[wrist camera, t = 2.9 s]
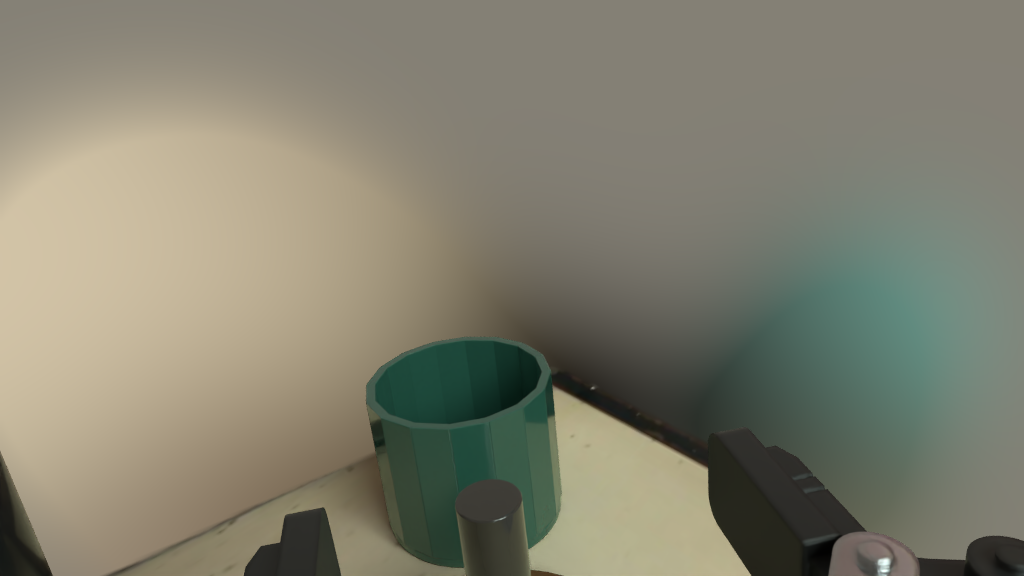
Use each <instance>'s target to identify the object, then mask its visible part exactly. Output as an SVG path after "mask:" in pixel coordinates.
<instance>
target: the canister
mask: <svg viewBox="0 0 1024 576" xmlns="http://www.w3.org/2000/svg"><path fill="white" fill-rule="evenodd" d="M366 404H367V410H368V415H369V420H370V425H371V430H372V435H373V440H374V445H375V451H376V456H377V461H378V466H379V471H380V476H381V481H382V486H383V491H384V496H385V501H386V506H387V511H388V516H389V521H390V526H391V528H392V530H393V532H394V535H395V537H396V539H397V540H398V542H399V543H400V544H401V545H402V547H403V548H404V549H405V550H407V551H408V552H409V553H411V554H412V555H414V556H415V557H417V558H419V559H421V560H424V561H426V562H429V563H432V564H436V565H440V566H447V567H461V568H464V562H463V556H462V549H461V543H460V536H459V530H458V523H457V517H456V511H455V501H456V498H457V496H458V494H459V493H460V492H461V491H462V490H463V489H464V488H465V487H467V486H468V485H470V484H472V483H475V482H478V481H481V480H487V479H500V480H505V481H508V482H510V483H512V484H514V485H515V486H516V487H517V488H518V489H519V490H520V492H521V494H522V500H523V508H524V517H525V526H526V535H527V544H528V549H530V548H531V547H533V546H534V545H535V544H537V543H538V542H539V541H541V540H542V539H543V538H544V537H545V536H546V535H547V534H548V532H549V531H550V530H551V528H552V527H553V526H554V524H555V522H556V520H557V518H558V515H559V512H560V507H561V494H562V490H561V479H560V467H559V456H558V445H557V434H556V422H555V411H554V400H553V389H552V377H551V370H550V368H549V366H548V364H547V362H546V360H545V358H544V356H543V354H541V353H539V352H538V351H536V350H534V349H533V348H531V347H529V346H528V345H526V344H524V343H521V342H517V341H512V340H508V339H503V338H499V337H461V338H456V339H449V340H443V341H437V342H432V343H429V344H426V345H423V346H420V347H418V348H415V349H412V350H409V351H407V352H404V353H402V354H400V355H399V356H397V357H395V358H394V359H392V360H391V361H389V362H388V363H386V364H385V365H383V366H381V367H380V368H379V369H378V370H377V372H376V373H375V374H374V376H373V377H372V378H371V380H370V381H369V382H368V383H367V385H366Z"/></svg>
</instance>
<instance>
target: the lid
mask: <svg viewBox="0 0 1024 576" xmlns="http://www.w3.org/2000/svg"><path fill="white" fill-rule="evenodd" d="M455 511H456V517H457V523H458V530H459V536H460V543H461V549H462V556H463V562H464V568H465V575H466V576H562V575H558V574H554V573H550V572H544V571H536V570H530V561H529V552H528V544H527V535H526V526H525V517H524V508H523V500H522V494H521V492H520V490H519V489H518V488H517V487H516V486H515V485H514V484H512V483H510V482H508V481H505V480H500V479H487V480H481V481H478V482H475V483H472V484H470V485H468V486H467V487H465V488H464V489H463V490H462V491H461V492H460V493H459V494H458V496H457V498H456V501H455Z"/></svg>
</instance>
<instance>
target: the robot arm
mask: <svg viewBox="0 0 1024 576" xmlns="http://www.w3.org/2000/svg"><path fill="white" fill-rule="evenodd" d="M708 490H709V501H710V506H711V510H712V513H713V516H714V518H715V520H716V522H717V524H718V526H719V527H720V529H721V530H722V532H723V533H724V535H725V536H726V538H727V539H728V541H729V542H730V544H731V545H732V547H733V548H734V550H735V551H736V553H737V554H738V556H739V557H740V559H741V560H742V562H743V564H744V565H745V567H746V568H747V570H748V571H749V573H750V574H751V576H1024V541H1022V540H1019V539H1015V538H1010V537H1004V536H988V537H987V536H986V537H982V538H979V539H976V540H975V541H973V542H972V543H971V544H970V545H969V546H968V549H967V554H966V560H945V559H924V558H917V557H916V556H915V554H914V553H913V552H912V551H911V550H910V549H909V548H908V547H907V546H906V545H904V544H903V543H901V542H900V541H898V540H896V539H893V538H891V537H888V536H886V535H883V534H879V533H874V532H867V531H866V530H865V529H864V528H863V527H862V526H861V525H860V524H859V523H858V522H857V520H856V519H855V518H854V517H852V515H851V514H850V513H849V512H848V511H847V510H846V509H845V508H844V507H843V506H842V504H840V502H839V501H838V500H837V499H836V498H835V497H834V496H833V495H832V494H831V493H830V492H829V491H828V489H827V490H825V488H824V485H823V484H822V483H821V482H820V481H819V480H818V479H817V478H816V477H813V474H812V473H811V471H810V470H809V469H808V468H807V467H806V466H805V465H804V464H803V463H802V462H801V461H800V460H799V459H798V458H797V457H796V456H794V455H792V454H790V453H788V452H786V451H784V450H783V449H781V448H779V447H777V446H772V447H767V448H765V447H764V446H763V445H762V443H761V442H760V441H759V440H758V439H757V438H756V437H755V435H754V434H753V433H752V432H751V431H750V430H749V429H748V428H746V427H743V428H738V429H732V430H728V431H722V432H717V433H712V434H710V436H709V440H708ZM0 576H53V575H52V573H51V570H50V568H49V566H48V563H47V561H46V558H45V556H44V554H43V552H42V549H41V547H40V544H39V542H38V540H37V537H36V535H35V532H34V530H33V528H32V526H31V523H30V521H29V518H28V516H27V514H26V511H25V509H24V507H23V504H22V502H21V499H20V497H19V495H18V492H17V490H16V488H15V485H14V483H13V481H12V478H11V476H10V473H9V471H8V469H7V466H6V464H5V462H4V459H3V457H2V455H1V452H0ZM244 576H341V573H340V568H339V563H338V559H337V555H336V551H335V547H334V543H333V538H332V534H331V530H330V526H329V522H328V518H327V514H326V511H325V509H324V508H318V509H313V510H308V511H303V512H297V513H292V514H287V515H286V516H285V518H284V523H283V529H282V535H281V541H280V543H275V544H270V545H265V546H261V547H260V548H259V549H258V551H257V552H256V554H255V555H254V556H253V558H252V559H251V560H250V562H249V563H248V565H247V566H246V568H245V572H244Z"/></svg>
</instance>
